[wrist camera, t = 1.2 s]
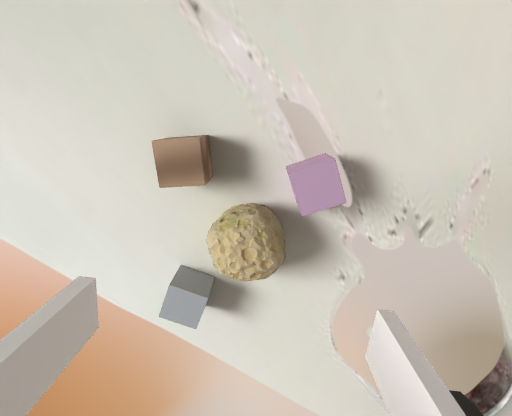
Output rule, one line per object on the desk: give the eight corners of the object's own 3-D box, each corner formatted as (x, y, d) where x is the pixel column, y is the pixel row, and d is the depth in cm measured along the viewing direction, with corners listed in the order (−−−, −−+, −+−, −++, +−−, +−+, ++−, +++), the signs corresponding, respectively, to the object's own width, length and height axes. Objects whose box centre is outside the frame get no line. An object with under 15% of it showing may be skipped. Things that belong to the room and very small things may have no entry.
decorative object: (284, 237, 41) (316, 228, 32) (243, 296, 38) (265, 304, 29) (235, 197, 41) (253, 175, 31) (188, 252, 37) (193, 246, 28)
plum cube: (285, 166, 35) (288, 173, 30) (325, 153, 34) (335, 158, 29) (297, 203, 36) (301, 216, 31) (335, 191, 35) (346, 202, 31)
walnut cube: (167, 137, 34) (151, 140, 29) (208, 135, 34) (199, 137, 29) (173, 178, 36) (159, 187, 31) (213, 176, 35) (204, 185, 31)
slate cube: (181, 264, 39) (169, 284, 34) (215, 276, 40) (208, 298, 35) (171, 293, 41) (158, 316, 36) (204, 304, 41) (196, 329, 36)
